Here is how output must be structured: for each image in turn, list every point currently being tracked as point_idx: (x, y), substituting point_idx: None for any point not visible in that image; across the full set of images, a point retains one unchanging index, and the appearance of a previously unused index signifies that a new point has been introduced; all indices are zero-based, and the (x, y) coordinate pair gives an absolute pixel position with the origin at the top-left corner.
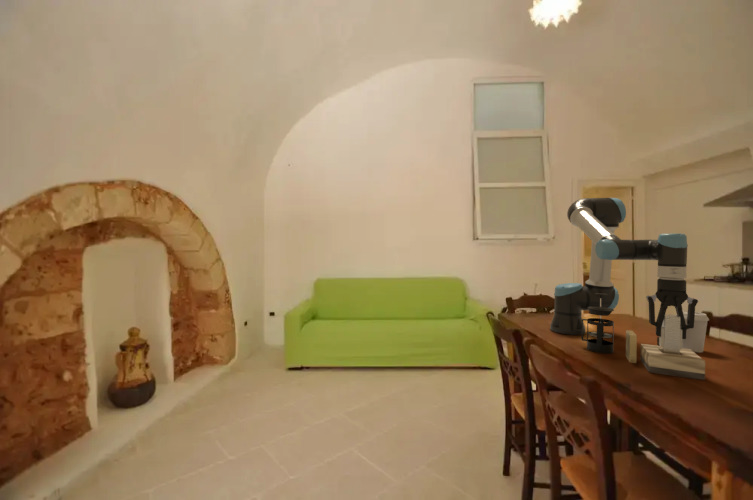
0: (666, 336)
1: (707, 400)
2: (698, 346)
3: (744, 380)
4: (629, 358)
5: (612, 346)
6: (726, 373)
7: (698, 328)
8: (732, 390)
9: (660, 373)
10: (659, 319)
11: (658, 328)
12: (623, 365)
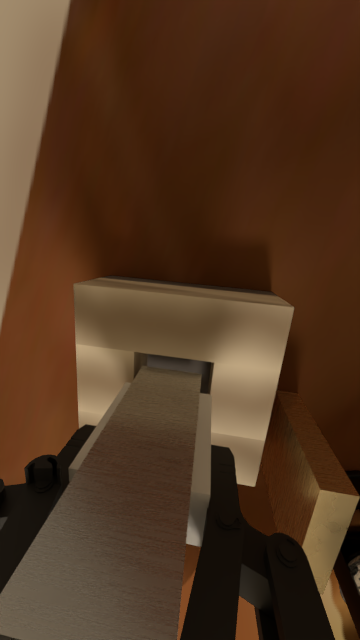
0: (186, 424)
1: (177, 5)
2: None
3: (5, 323)
4: (302, 402)
5: None
6: (32, 374)
7: None
8: (60, 197)
9: (235, 288)
10: (231, 610)
11: (227, 500)
12: (340, 345)
